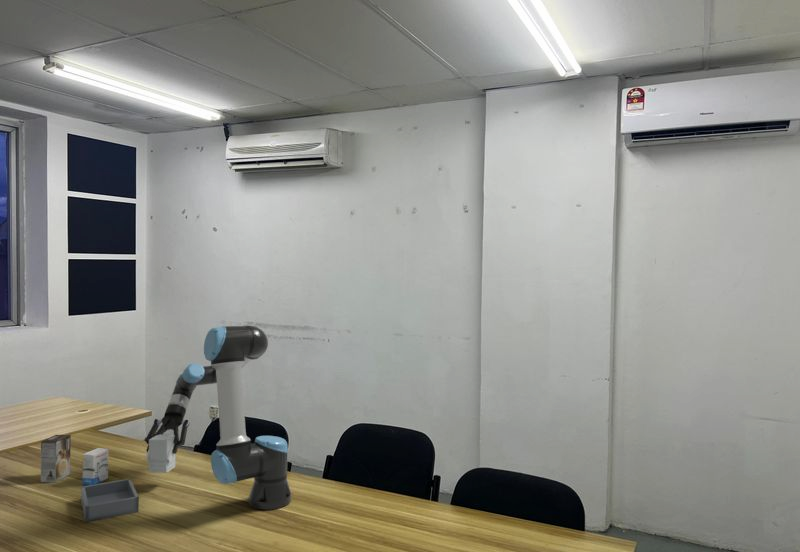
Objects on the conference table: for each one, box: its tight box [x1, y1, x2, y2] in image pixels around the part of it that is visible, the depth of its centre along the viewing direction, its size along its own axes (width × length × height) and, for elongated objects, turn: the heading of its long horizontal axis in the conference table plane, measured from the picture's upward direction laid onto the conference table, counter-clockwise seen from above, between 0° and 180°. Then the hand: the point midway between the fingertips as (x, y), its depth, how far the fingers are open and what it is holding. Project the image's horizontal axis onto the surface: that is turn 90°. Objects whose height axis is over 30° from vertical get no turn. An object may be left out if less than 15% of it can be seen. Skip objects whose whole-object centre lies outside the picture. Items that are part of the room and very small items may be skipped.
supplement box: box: [148, 434, 176, 474], centre depth 214 cm, size 7×7×13 cm
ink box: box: [82, 447, 109, 486], centre depth 217 cm, size 9×5×12 cm, turn 168°
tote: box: [80, 478, 140, 523], centre depth 195 cm, size 20×16×5 cm
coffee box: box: [40, 434, 72, 483], centre depth 219 cm, size 9×6×16 cm
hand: (158, 460), depth 210 cm, fingers closed on supplement box, 7 cm apart
